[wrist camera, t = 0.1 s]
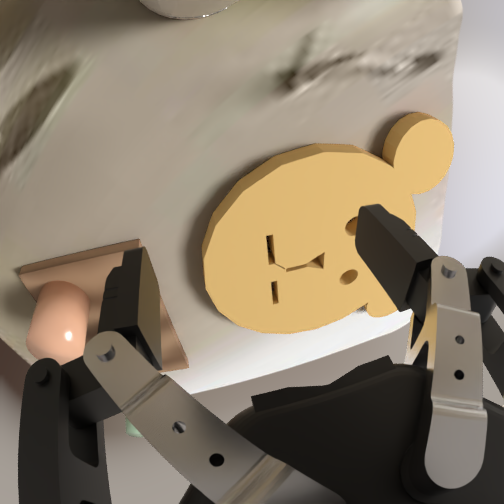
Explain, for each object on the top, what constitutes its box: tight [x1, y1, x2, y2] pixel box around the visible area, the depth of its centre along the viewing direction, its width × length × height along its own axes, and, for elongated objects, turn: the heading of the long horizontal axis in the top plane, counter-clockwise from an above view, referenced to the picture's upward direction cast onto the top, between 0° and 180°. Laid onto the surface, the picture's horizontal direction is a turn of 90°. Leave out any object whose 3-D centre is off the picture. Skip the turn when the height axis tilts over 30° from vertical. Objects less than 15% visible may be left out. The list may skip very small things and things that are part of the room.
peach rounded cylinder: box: [26, 281, 91, 365], centre depth 28 cm, size 6×6×7 cm
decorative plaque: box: [202, 112, 454, 334], centre depth 36 cm, size 31×3×30 cm
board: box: [19, 239, 189, 373], centre depth 36 cm, size 23×15×2 cm, turn 4°
